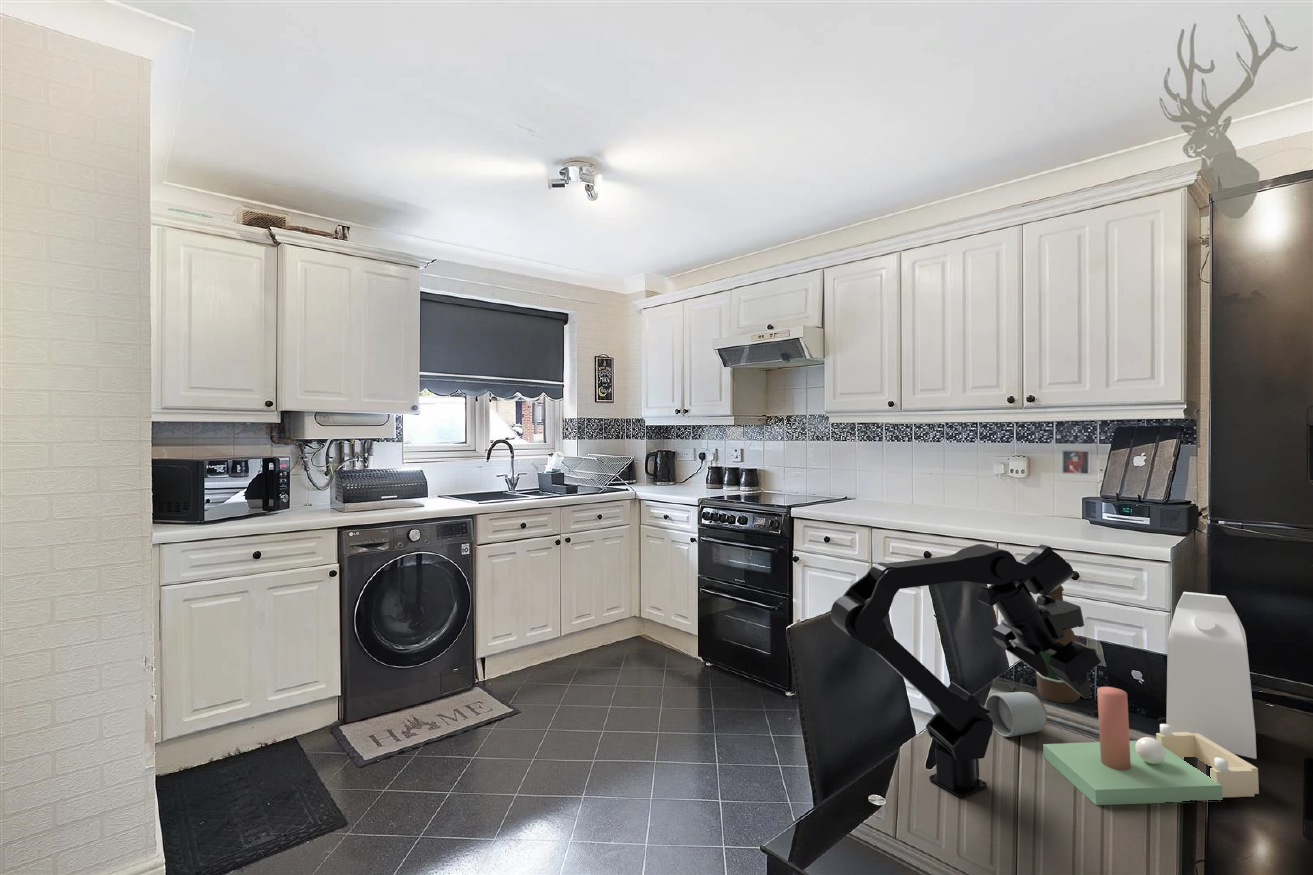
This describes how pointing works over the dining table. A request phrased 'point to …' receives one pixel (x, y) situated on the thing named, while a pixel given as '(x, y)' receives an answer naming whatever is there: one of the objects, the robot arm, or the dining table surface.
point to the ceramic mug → (1016, 713)
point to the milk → (1210, 674)
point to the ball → (1150, 750)
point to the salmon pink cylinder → (1114, 728)
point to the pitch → (1130, 776)
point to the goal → (1213, 761)
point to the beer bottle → (1052, 684)
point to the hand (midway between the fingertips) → (1066, 685)
